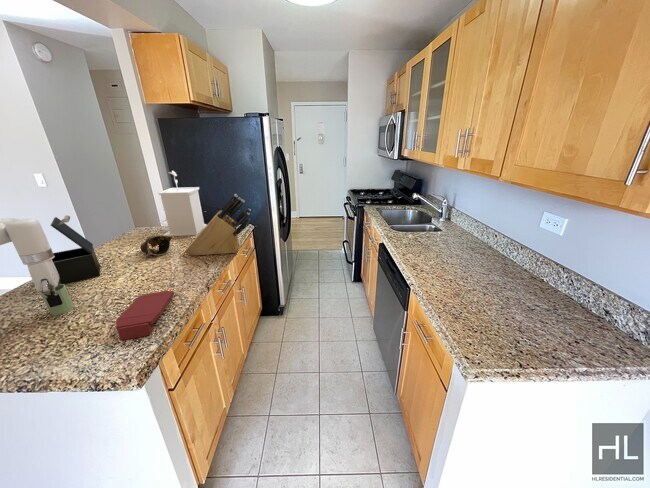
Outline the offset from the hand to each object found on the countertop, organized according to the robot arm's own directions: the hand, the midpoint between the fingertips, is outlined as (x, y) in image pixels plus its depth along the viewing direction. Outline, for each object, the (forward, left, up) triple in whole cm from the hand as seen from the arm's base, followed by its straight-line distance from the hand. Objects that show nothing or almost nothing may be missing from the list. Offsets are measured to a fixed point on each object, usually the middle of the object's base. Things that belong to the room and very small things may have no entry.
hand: (58, 299), depth 94 cm
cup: (0, 0, -4) cm, 4 cm away
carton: (+30, -15, -5) cm, 34 cm away
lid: (-3, +31, +14) cm, 34 cm away
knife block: (+56, +36, -5) cm, 67 cm away
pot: (+23, +46, -5) cm, 52 cm away
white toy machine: (+34, +85, -5) cm, 91 cm away
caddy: (-7, +30, -4) cm, 31 cm away
